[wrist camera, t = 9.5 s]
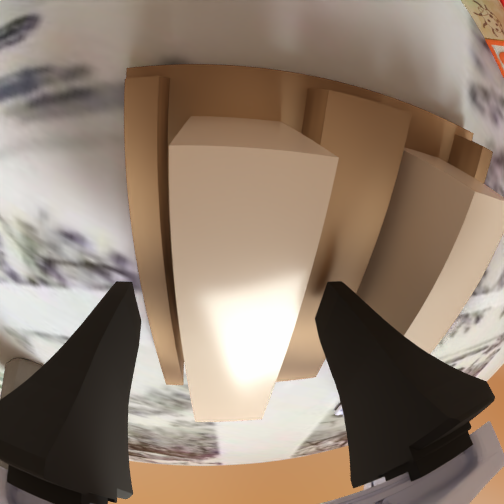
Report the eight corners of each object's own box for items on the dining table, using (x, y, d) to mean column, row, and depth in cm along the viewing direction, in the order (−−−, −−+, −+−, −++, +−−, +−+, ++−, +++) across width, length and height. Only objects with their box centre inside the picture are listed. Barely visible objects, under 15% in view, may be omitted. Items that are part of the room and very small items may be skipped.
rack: (378, 337, 19) (392, 365, 17) (160, 351, 17) (157, 387, 14) (463, 129, 10) (500, 145, 8) (132, 69, 8) (106, 65, 5)
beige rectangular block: (249, 342, 16) (261, 419, 12) (194, 342, 15) (195, 421, 11) (281, 121, 9) (338, 157, 5) (191, 116, 9) (168, 145, 4)
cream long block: (367, 332, 17) (395, 392, 13) (325, 337, 17) (350, 405, 12) (438, 157, 10) (514, 205, 6) (390, 143, 10) (474, 191, 6)
